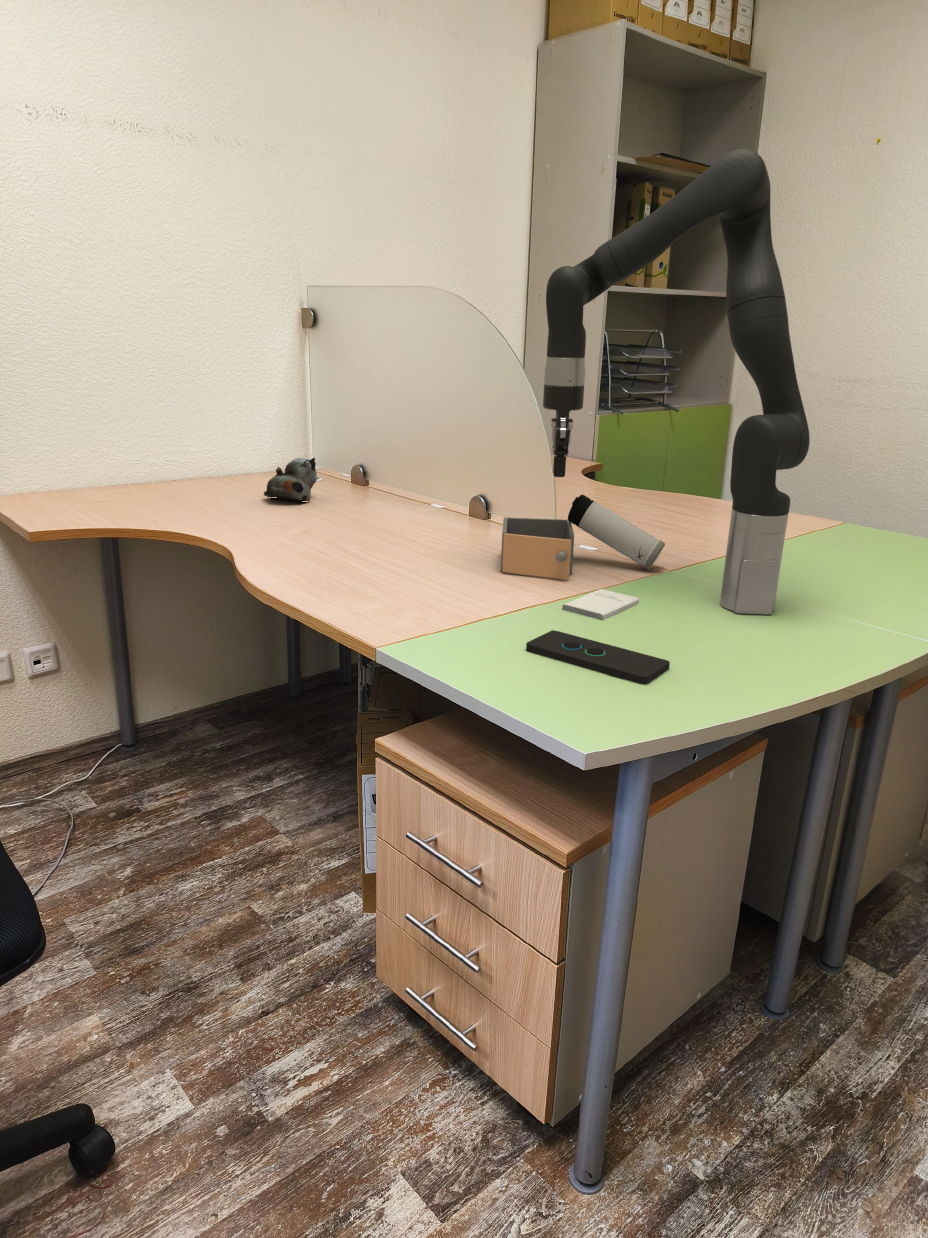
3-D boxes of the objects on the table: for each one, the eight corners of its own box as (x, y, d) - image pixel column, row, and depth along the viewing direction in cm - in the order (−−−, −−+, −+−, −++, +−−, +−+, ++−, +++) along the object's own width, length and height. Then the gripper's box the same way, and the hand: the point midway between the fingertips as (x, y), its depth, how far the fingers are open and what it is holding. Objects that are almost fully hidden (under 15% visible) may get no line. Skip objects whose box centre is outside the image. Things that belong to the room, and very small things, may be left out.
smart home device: (553, 628, 131) (671, 660, 120) (552, 638, 132) (670, 671, 120) (524, 642, 125) (646, 677, 114) (523, 653, 126) (645, 688, 114)
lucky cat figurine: (260, 496, 231) (277, 450, 232) (302, 512, 235) (318, 466, 236) (266, 490, 217) (284, 441, 218) (310, 507, 221) (327, 458, 222)
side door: (566, 581, 159) (569, 542, 156) (500, 573, 163) (501, 535, 160) (569, 578, 161) (571, 539, 158) (503, 570, 165) (504, 533, 162)
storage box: (571, 574, 164) (574, 535, 162) (500, 572, 165) (502, 532, 163) (568, 556, 178) (570, 519, 175) (502, 554, 178) (503, 517, 176)
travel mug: (651, 563, 164) (566, 511, 168) (646, 573, 170) (563, 523, 174) (668, 538, 165) (582, 487, 169) (662, 549, 172) (580, 500, 175)
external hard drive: (561, 612, 144) (599, 596, 153) (602, 623, 139) (638, 606, 148) (562, 603, 144) (599, 587, 153) (603, 614, 139) (639, 597, 148)
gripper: (587, 385, 149) (580, 482, 154) (581, 380, 162) (576, 470, 167) (545, 384, 149) (540, 481, 155) (543, 380, 162) (538, 469, 168)
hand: (558, 475), depth 161 cm, fingers closed
